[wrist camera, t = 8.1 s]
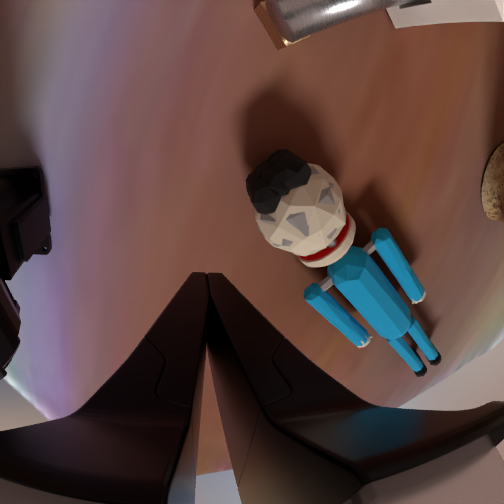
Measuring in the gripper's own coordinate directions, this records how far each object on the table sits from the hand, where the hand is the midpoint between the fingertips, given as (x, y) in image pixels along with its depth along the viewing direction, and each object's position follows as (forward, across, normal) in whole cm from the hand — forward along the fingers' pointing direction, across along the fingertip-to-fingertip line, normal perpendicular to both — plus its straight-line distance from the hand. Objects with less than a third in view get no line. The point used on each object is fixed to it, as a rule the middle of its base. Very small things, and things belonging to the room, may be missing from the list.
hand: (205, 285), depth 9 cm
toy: (+13, -15, +9) cm, 21 cm away
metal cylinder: (+12, -9, -14) cm, 21 cm away
